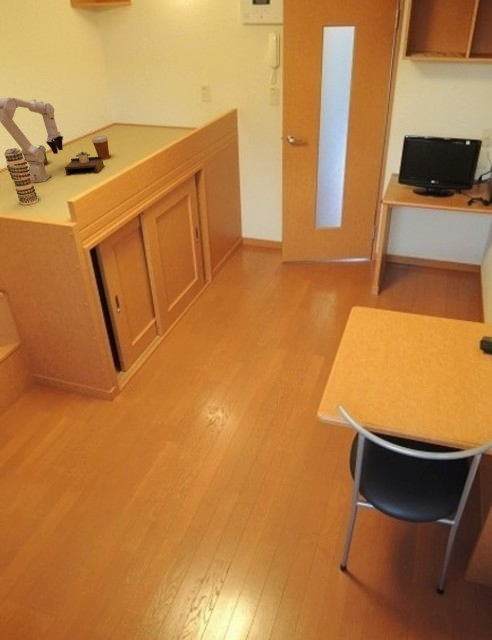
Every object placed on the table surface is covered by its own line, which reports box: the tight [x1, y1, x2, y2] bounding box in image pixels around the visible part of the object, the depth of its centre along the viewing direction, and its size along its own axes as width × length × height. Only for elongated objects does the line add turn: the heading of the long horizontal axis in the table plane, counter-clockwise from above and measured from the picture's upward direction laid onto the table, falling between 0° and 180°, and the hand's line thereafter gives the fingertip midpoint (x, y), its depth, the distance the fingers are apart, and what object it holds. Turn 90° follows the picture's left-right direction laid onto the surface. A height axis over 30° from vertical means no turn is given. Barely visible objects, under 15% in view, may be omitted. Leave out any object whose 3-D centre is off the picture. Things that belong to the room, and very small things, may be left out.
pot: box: [75, 151, 91, 163], centre depth 274 cm, size 5×8×5 cm
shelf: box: [64, 156, 105, 176], centre depth 275 cm, size 13×18×6 cm
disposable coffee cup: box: [91, 135, 110, 160], centre depth 293 cm, size 10×10×12 cm
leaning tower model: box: [3, 147, 39, 206], centre depth 232 cm, size 9×9×25 cm
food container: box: [37, 144, 49, 167], centre depth 292 cm, size 12×6×10 cm, turn 168°
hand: (58, 151), depth 275 cm, fingers open, 7 cm apart
